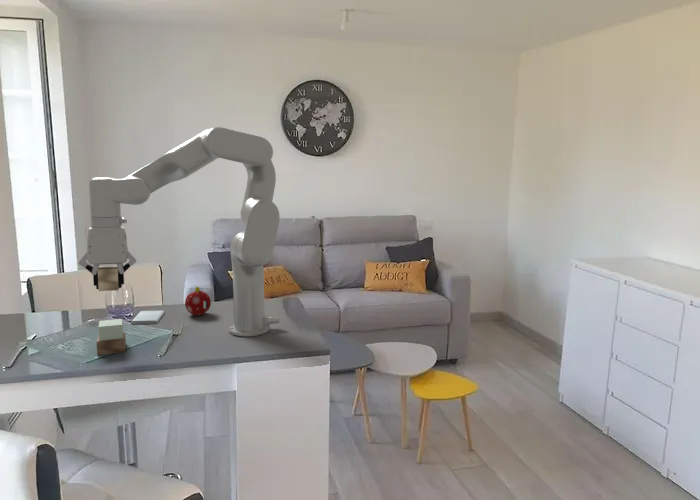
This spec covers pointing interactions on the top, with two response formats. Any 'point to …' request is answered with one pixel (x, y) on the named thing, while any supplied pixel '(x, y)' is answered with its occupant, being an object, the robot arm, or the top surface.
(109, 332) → the tower top
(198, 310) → the christmas ornament
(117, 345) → the tower bottom
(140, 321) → the hard drive
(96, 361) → the top surface
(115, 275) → the oak block
